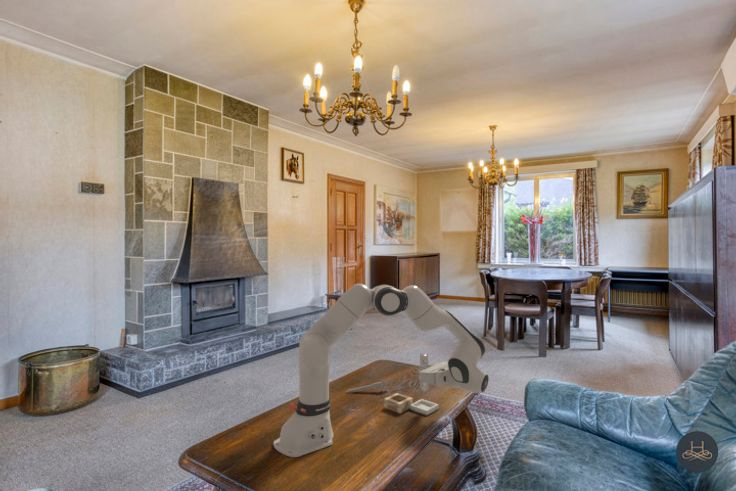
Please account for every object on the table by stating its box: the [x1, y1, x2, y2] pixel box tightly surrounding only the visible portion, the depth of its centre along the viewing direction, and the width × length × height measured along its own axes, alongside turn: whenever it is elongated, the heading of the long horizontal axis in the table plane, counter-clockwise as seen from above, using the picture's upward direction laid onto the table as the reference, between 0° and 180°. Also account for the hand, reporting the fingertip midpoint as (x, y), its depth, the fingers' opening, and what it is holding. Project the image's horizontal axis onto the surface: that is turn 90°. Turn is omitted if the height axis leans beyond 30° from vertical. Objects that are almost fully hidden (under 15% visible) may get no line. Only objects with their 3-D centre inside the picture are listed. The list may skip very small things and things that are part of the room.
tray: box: [409, 398, 440, 417], centre depth 172 cm, size 9×9×2 cm
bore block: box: [383, 392, 414, 414], centre depth 174 cm, size 9×9×4 cm
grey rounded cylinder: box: [419, 353, 430, 392], centre depth 171 cm, size 4×4×15 cm
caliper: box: [345, 378, 388, 394], centre depth 192 cm, size 20×1×6 cm, turn 94°
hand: (422, 367), depth 172 cm, fingers closed on grey rounded cylinder, 4 cm apart
